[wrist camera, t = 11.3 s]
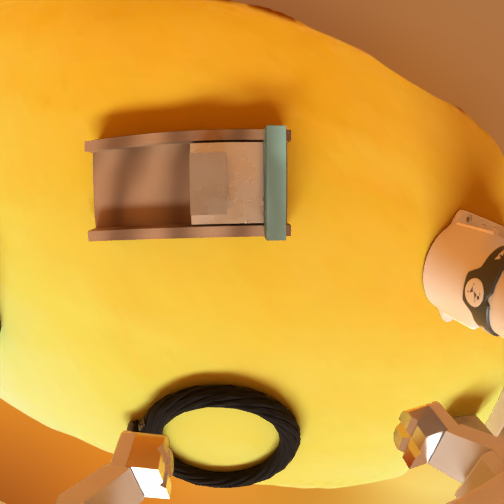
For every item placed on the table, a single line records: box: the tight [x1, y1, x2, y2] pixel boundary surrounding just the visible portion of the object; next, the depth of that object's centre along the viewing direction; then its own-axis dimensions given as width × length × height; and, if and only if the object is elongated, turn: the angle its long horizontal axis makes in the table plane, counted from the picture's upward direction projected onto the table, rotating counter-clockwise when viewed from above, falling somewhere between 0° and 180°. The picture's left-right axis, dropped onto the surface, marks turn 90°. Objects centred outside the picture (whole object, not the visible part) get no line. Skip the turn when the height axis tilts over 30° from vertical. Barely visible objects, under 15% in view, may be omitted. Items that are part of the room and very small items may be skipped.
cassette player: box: [452, 415, 493, 435], centre depth 47 cm, size 16×3×10 cm, turn 73°
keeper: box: [189, 142, 264, 225], centre depth 32 cm, size 8×9×7 cm
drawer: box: [85, 125, 291, 241], centre depth 34 cm, size 24×12×6 cm, turn 90°
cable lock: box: [127, 385, 300, 488], centre depth 45 cm, size 28×4×30 cm
